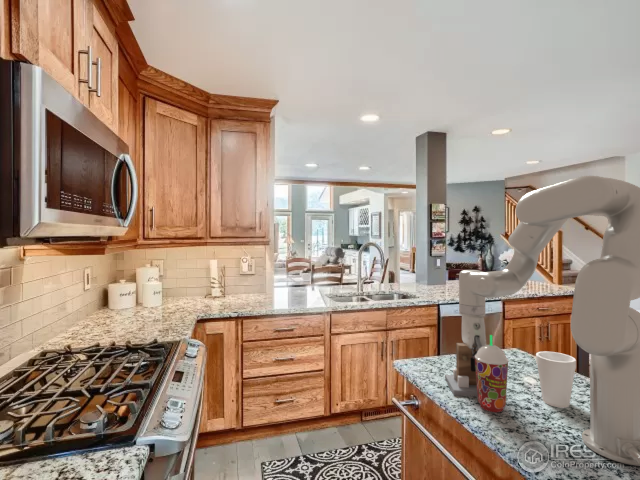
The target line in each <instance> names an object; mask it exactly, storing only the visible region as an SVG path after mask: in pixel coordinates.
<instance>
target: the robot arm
mask: <svg viewBox="0 0 640 480" xmlns="http://www.w3.org/2000/svg"><path fill="white" fill-rule="evenodd" d="M515 215H516V218H517V219H518V221H519V222H518V224H517V226H516V227H515V228H514V230H513V231H512V233H511V234H510V235H509V236H508V239H507V240H508V243H509V245H510V247H512V249H513V256H512V257H511V259H510V261H509V262H508V263H507V265H506V266H505V267H504V269H502V270H494V271H493V270H492V271H482V270H478V269H464V270H461V271H459V275H458V301H459V302H458V309H459V311H458V314H459V315H461V340H462V343H465V344H466V345H467V347H469V348H470V349H471V355H472V358H471V371H474V372H476V365H475V355H476V354H477V351H478V350H479V349H480V348H481V347H482V346H484V345H486V344H487V337H486V323H485V317H486V298H487V299H492V298H493V299H495V298H500V297H507V296H512V295H515V294H517V293H519V291H520V290H522V288H523V287H524V286H525V285H526V283H527V282H528V281H529V280H530V279H531V278H532V276H533V275H534V273H535V271H536V268H537V265H538V262H539V257H540V255H541V253H542V252H543V251H544V250H545V248H546V247H547V246H548V244H549V243H550V242H551V240H552V239H553V238H554V237H555V236H556V234H557V233H558V232H559V231H560V230H561V228H562V227H563V226H564V225H565V223H566V222H567V221H568V219H569V220H570V219H573V218H578V217H582V216H583V217H584V216H595V217H596V216H597V217H599V216H601V217H605V218H607V226H606V227H605V230H604V232H603V238H602V246H601V247H602V248H601V251H600V252H601V253H600V257H599V258H596V259H592V260H590V261H588V262H587V263H586V264H584V266H582V268H580V270H579V272H578V274H577V275H576V279H575V283H574V289H573V290H574V291H573V299H572V309H571V315H570V316H571V317H570V331H571V335H572V338H573V340H574V342H575V343H576V344H577V347H579V348H580V349H582V350H583V351H585V352H586V353H587V354H590V362H589V364H590V365H589V367H590V368H589V371H590V372H589V409H590V410H589V412H590V413H589V416H590V417H589V418H590V421H589V423H590V424H589V425H590V426H589V428H587V429H585V430H583V432H582V433H581V440H582V443H584V445H585V446H586V447H588V449H590V450H592V451H593V452H594V453H596V454H598V455H600V456H602V457H605V458H607V459H609V460H612V461H614V462H618V463H621V464H625V465H630V466H637V467H640V311H638V310H636V309H635V308H633V307H630V306H631V305H630V304H631V301H634V300H637V299H640V186H638V185H635V184H633V183H630V182H628V181H625V180H621V179H616V178H611V177H603V176H598V175H584V176H582V175H581V176H578V177H574V178H571V179H567V180H564V181H561V182H557V183H555V184H551V185H548V186H544V187H541V188H538V189H535V190H531V191H529V192H527V193H526V194H524V195H522V197H520V199H519V200H518V202H517V204H516V206H515ZM473 346H476V347H473ZM474 350H477V351H475V353H474Z"/></svg>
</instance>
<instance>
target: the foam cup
mask: <svg viewBox="0 0 640 480" xmlns="http://www.w3.org/2000/svg"><path fill="white" fill-rule="evenodd" d="M535 363H536V366H537V370H538V371H537V372H538V378H539V379H538V380H539V385H540V391H541V398H542V402H543V403H545V404H547V405H549V406H552V407H555V408H561V409H563V408H564V409H565V408H569V407H570V403H571V397H572V393H573V392H572V391H573V385H574V377H575V372H576V369H577V360H576V358H575V357H573V356H571V355H569V354H565V353H561V352H557V351H556V352H555V351H548V350H547V351H546V350H544V351H543V350H542V351H538V352H536V353H535Z"/></svg>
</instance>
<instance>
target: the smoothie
mask: <svg viewBox="0 0 640 480" xmlns="http://www.w3.org/2000/svg"><path fill="white" fill-rule="evenodd" d="M475 365H476V379H477V393H478V397H477V401H478V403H479V405H480V407H481V409H483V410H484V411H487V412H490V413H501V412H503V411H504V408H505V407H506V403H507V390H508V389H507V388H508V387H507V385H508V373H509V372H508V370H509V359H508V358H507V355H506V353H505V352H504V350H502V348H500V347H498V346H497V345H495V344H493V334H489V344H487V345H484V346H482V347H481V348H480V349H479V350H478V351H477V354H476V355H475Z"/></svg>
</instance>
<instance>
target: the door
mask: <svg viewBox="0 0 640 480" xmlns="http://www.w3.org/2000/svg"><path fill="white" fill-rule="evenodd" d="M486 345H488V344H487V343H486ZM473 347H476V346H473ZM475 351H477V350H474V353H475ZM471 358H472V355H471V349H470V348H469V347H467V345H466V344H465V343H464V342H456V343H455V359H456V361H455V363H456V364H455V365H456V367H455V369H456V381H457V382H458V380H457V376H468V377H469V385H477V379H476V372H474V371H471Z"/></svg>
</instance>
